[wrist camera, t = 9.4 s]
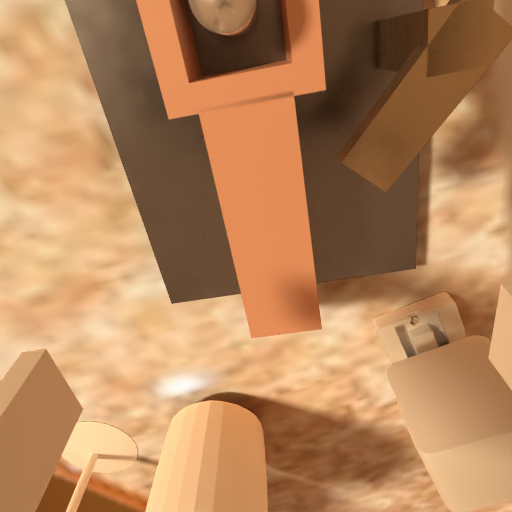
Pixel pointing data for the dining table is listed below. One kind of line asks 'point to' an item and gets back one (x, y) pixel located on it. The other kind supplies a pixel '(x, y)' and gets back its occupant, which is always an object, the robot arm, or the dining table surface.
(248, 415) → the cup
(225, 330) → the dining table surface
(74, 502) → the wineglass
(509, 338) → the robot arm
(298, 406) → the dining table surface
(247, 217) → the link
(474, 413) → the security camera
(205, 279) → the base
